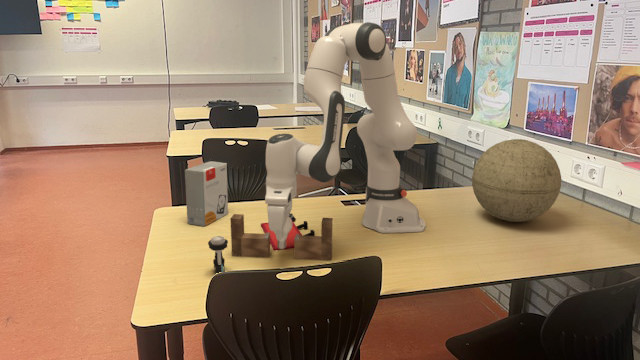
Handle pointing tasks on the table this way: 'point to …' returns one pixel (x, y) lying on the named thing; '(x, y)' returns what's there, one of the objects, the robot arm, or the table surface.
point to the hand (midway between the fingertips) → (281, 234)
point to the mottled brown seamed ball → (516, 180)
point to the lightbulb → (285, 233)
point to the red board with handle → (290, 236)
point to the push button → (218, 252)
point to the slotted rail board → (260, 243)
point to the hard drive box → (206, 193)
